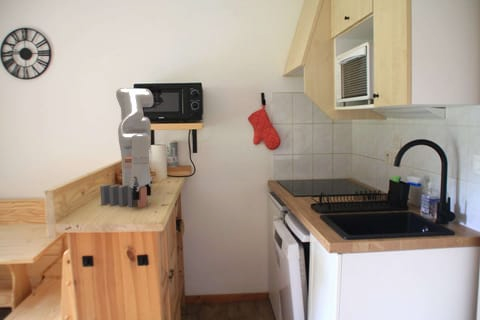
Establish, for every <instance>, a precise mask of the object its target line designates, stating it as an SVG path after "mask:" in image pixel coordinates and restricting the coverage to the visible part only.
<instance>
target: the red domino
mask: <svg viewBox="0 0 480 320" xmlns="http://www.w3.org/2000/svg"><path fill="white" fill-rule="evenodd" d="M138 191H139V196H140V200H138V205H137V208H139V209H142V208H145V207H147V206H148V196H147V187H144V186H143V187H140V188H139V190H138Z"/></svg>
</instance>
